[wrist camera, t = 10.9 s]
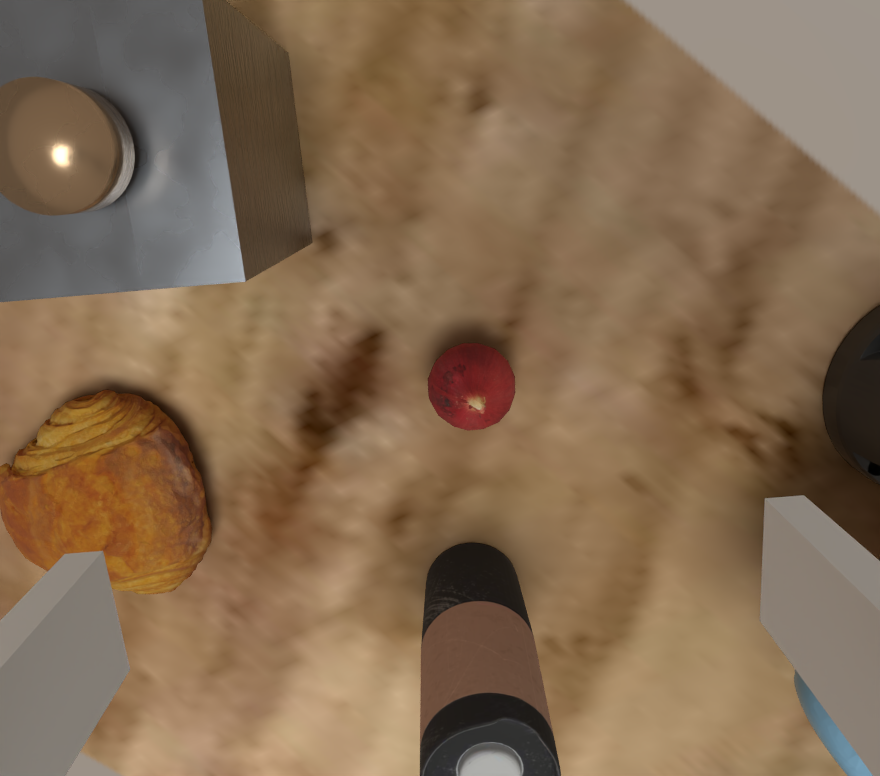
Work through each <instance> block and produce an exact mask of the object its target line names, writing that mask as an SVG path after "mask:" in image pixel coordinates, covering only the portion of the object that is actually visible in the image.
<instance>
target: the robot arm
mask: <svg viewBox="0 0 880 776" xmlns="http://www.w3.org/2000/svg"><path fill="white" fill-rule="evenodd" d="M823 413H824V419H825V424H826V428H827V431H828V434H829V436H830V438H831V440H832V442H833V444H834V446H835V447H836V449H837V451H838V452H839V453H840V455H841V456H842V457H843V458H844V459H845V460H846V461H847V462H848V463H849V464H850V465H851V466H852V467H854V468H855V469H856V470H858V471H859V472H861V473H862V474H864V475H865V476H866V477H868V478H869V479H871V480H872V481H874V482H876V483H877V484H879V485H880V306H879V307H877V308H876V309H874V310H873V311H872V312H870V313H869V314H868V315H867V316H866V317H865V318H863V319H862V320H861V321H860V322H859V323H858V324H857V325H856V326H855V327H854V328H853V330H852V331H851V332H850V333H849V334H848V336H847V337H846V338H845V340H844V341H843V343H842V344H841V346H840V347H839V349H838V351H837V352H836V354H835V356H834V358H833V361H832V363H831V365H830V368H829V371H828V374H827V377H826V381H825V387H824V394H823ZM760 622H761V623H762V624H763V626H764V627H765V629H766V630H767V631H768V633H769V634H770V635H771V637H772V638H773V640H774V641H775V642H776V644H777V645H778V646H779V648H780V649H781V650H782V652H783V653H784V655H785V656H786V657H787V659H788V660H789V661H790V663H791V664H792V666H793V667H794V668H795V675H794V683H795V688H796V692H797V695H798V698H799V701H800V703H801V706H802V708H803V710H804V712H805V714H806V716H807V718H808V720H809V722H810V724H811V725H812V727H813V729H814V730H815V732H816V734H817V735H818V737H819V738H820V740H821V741H822V743H823V744H824V745H825V747H826V748H827V750H828V751H829V752H830V754H831V755H832V757H833V758H834V759H835V760H836V762H837V763H838V764H839V766H840V767H841V768H842V769H843V771H844V772H845V773H846V774H847V775H848V776H880V558H879V559H877V558H876V557H875V556H873V555H872V554H871V553H870V552H869V551H868V550H866V549H865V548H864V547H863V546H862V545H861V544H860V543H858V542H857V541H856V540H855V539H854V538H853V537H851V536H850V535H849V534H848V533H847V532H846V531H845V530H843V529H842V528H841V527H840V526H839V525H838V524H836V523H835V522H834V521H833V520H832V519H831V518H830V517H828V516H827V515H826V514H825V513H824V512H823V511H821V510H820V509H819V508H818V507H817V506H816V505H815V504H813V503H812V502H811V501H810V500H809V499H808V498H806V497H805V496H804V495H801V496H789V497H776V498H765V505H764V530H763V555H762V580H761V605H760ZM129 670H130V667H129V662H128V658H127V653H126V649H125V645H124V640H123V636H122V632H121V627H120V623H119V619H118V614H117V610H116V605H115V601H114V597H113V592H112V588H111V584H110V579H109V575H108V571H107V566H106V562H105V557H104V553H103V551H95V552H83V553H70V554H64V555H63V556H62V557H61V558H60V559H59V561H58V562H57V563H56V564H55V565H54V566H53V567H52V568H51V569H50V570H49V571H48V572H47V573H46V574H45V575H44V576H43V577H42V578H41V579H40V580H39V581H38V582H37V583H36V584H35V585H34V586H33V587H32V588H31V589H30V590H29V592H28V593H27V594H26V595H25V596H24V597H23V598H22V599H21V600H20V601H19V602H18V603H17V604H16V605H15V606H14V607H13V608H12V609H11V610H10V611H9V612H8V613H7V614H6V615H5V616H4V617H3V618H2V619H1V620H0V776H65V775H66V774H67V772H68V770H69V769H70V767H71V766H72V764H73V762H74V760H75V759H76V757H77V756H78V754H79V752H80V751H81V749H82V747H83V746H84V744H85V743H86V741H87V739H88V738H89V736H90V734H91V733H92V731H93V729H94V728H95V726H96V725H97V723H98V721H99V720H100V718H101V716H102V715H103V713H104V711H105V710H106V708H107V707H108V705H109V703H110V702H111V700H112V698H113V697H114V695H115V693H116V692H117V690H118V689H119V687H120V685H121V684H122V682H123V680H124V679H125V677H126V675H127V674H128V672H129Z"/></svg>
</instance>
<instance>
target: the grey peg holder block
mask: <svg viewBox="0 0 880 776" xmlns="http://www.w3.org/2000/svg"><path fill="white" fill-rule="evenodd" d="M25 77H43V78H49V79H53V80H57V81H61V82H65V83H69V84H73V85H77V86H81V87H85V88H87V89H90V90H92V91H94V92H96V93H97V94H99V95H101V96H102V97H104V98H105V99H106V100H108V101H109V102H110V103H111V104H112V105H113V106H114V107H115V108H116V109H117V111H118V112H119V113H120V114H121V116H122V117H123V119H124V120H125V122H126V124H127V126H128V128H129V131H130V133H131V136H132V140H133V144H134V151H135V163H134V170H133V173H132V177H131V179H130V182H129V184H128V186H127V187H126V189H125V191H124V192H123V193H122V194H121V195H120V197H119V198H117V199H116V200H115V201H114V202H113V203H111V204H110V205H108V206H106V207H104V208H102V209H99V210H96V211H91V212H84V213H75V214H66V215H53V216H50V215H41V214H37V213H33V212H30V211H28V210H25V209H23V208H21V207H19V206H17V205H16V204H14V203H13V202H11V201H10V200H8V199H7V198H6V197H5V196H4V195H3V194H1V192H0V302H8V301H19V300H31V299H43V298H55V297H67V296H79V295H91V294H103V293H115V292H127V291H138V290H150V289H162V288H174V287H186V286H198V285H210V284H222V283H234V282H246V281H247V280H249V279H251V278H252V277H254V276H256V275H258V274H259V273H261V272H263V271H265V270H266V269H268V268H270V267H272V266H273V265H275V264H277V263H278V262H280V261H282V260H284V259H285V258H287V257H289V256H291V255H292V254H294V253H296V252H298V251H299V250H301V249H303V248H305V247H306V246H308V245H310V244H311V243H312V236H311V228H310V220H309V212H308V205H307V197H306V189H305V181H304V173H303V165H302V158H301V150H300V142H299V134H298V126H297V118H296V111H295V103H294V95H293V87H292V79H291V71H290V63H289V56H288V52H286V51H285V50H284V49H283V48H282V47H280V46H279V45H278V44H277V43H276V42H274V41H273V40H272V39H271V38H270V37H269V36H267V35H266V34H265V33H264V32H263V31H261V30H260V29H259V28H258V27H257V26H255V25H254V24H253V23H252V22H251V21H249V20H248V19H247V18H246V17H245V16H243V15H242V14H241V13H240V12H239V11H237V10H236V9H235V8H234V7H233V6H231V5H230V4H229V3H228V2H227V1H225V0H0V87H1V86H3V85H4V84H6V83H8V82H10V81H13V80H16V79H19V78H25Z"/></svg>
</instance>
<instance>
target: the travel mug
mask: <svg viewBox="0 0 880 776" xmlns="http://www.w3.org/2000/svg"><path fill="white" fill-rule="evenodd" d="M420 776H561V772H560V766H559V760H558V755H557V750H556V746H555V741H554V736H553V731H552V726H551V721H550V716H549V711H548V706H547V701H546V696H545V691H544V686H543V681H542V676H541V671H540V666H539V661H538V656H537V651H536V646H535V641H534V637H533V633H532V629H531V625H530V622H529V618H528V614H527V611H526V607H525V603H524V600H523V596H522V592H521V589H520V585H519V581H518V578H517V575H516V572H515V569H514V567H513V565H512V564H511V562H510V561H509V559H508V558H507V557H506V556H505V555H504V554H502V553H501V552H500V551H498V550H497V549H495V548H493V547H491V546H488V545H485V544H479V543H466V544H460V545H457V546H454V547H452V548H450V549H448V550H446V551H445V552H443V553H442V554H441V555H440V556H439V557H438V558H437V559H436V560H435V562H434V563H433V564H432V566H431V568H430V570H429V573H428V576H427V581H426V591H425V604H424V618H423V631H422V645H421V714H420Z"/></svg>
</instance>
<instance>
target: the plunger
mask: <svg viewBox="0 0 880 776" xmlns="http://www.w3.org/2000/svg"><path fill="white" fill-rule="evenodd" d="M134 163H135V151H134V144H133V140H132V136H131V133H130V131H129V128H128V126H127V124H126V122H125V120H124V119H123V117H122V116H121V114H120V113H119V112H118V111H117V109H116V108H115V107H114V106H113V105H112V104H111V103H110V102H109V101H108V100H106V99H105V98H104V97H102V96H101V95H99V94H97V93H96V92H94V91H92V90H90V89H87V88H85V87H81V86H77V85H73V84H69V83H65V82H61V81H57V80H53V79H49V78H43V77H25V78H19V79H16V80H13V81H10V82H8V83H6V84H4V85H3V86H1V87H0V192H1V194H3V195H4V196H5V197H6V198H7V199H8V200H10V201H11V202H13V203H14V204H16V205H17V206H19V207H21V208H23V209H25V210H28V211H30V212H33V213H37V214H41V215H50V216H53V215H66V214H75V213H84V212H91V211H96V210H99V209H102V208H104V207H106V206H108V205H110V204H111V203H113V202H114V201H115V200H116V199H117V198H119V197H120V195H121V194H122V193H123V192H124V191H125V189H126V187H127V186H128V184H129V182H130V179H131V177H132V173H133V170H134Z"/></svg>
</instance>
